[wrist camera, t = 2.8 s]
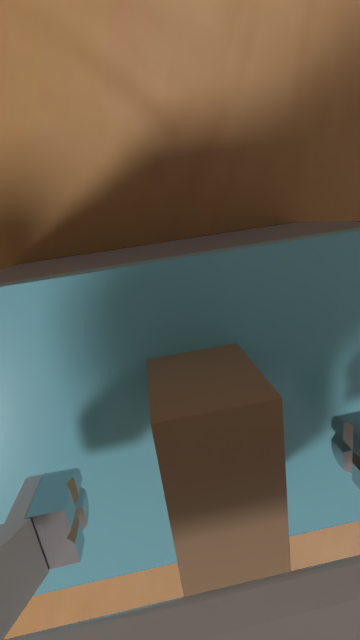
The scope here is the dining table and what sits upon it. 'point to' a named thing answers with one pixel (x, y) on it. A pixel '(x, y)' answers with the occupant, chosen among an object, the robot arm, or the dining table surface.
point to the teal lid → (187, 404)
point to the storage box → (169, 249)
